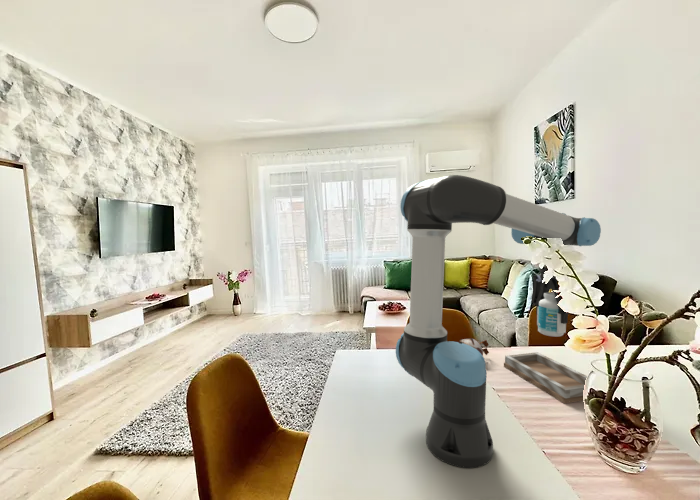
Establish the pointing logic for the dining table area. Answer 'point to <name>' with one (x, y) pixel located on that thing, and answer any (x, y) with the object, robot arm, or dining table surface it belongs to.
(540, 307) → the pill bottle
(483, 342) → the decorative duck model
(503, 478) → the dining table surface
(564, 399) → the grey rimmed shallow tray
